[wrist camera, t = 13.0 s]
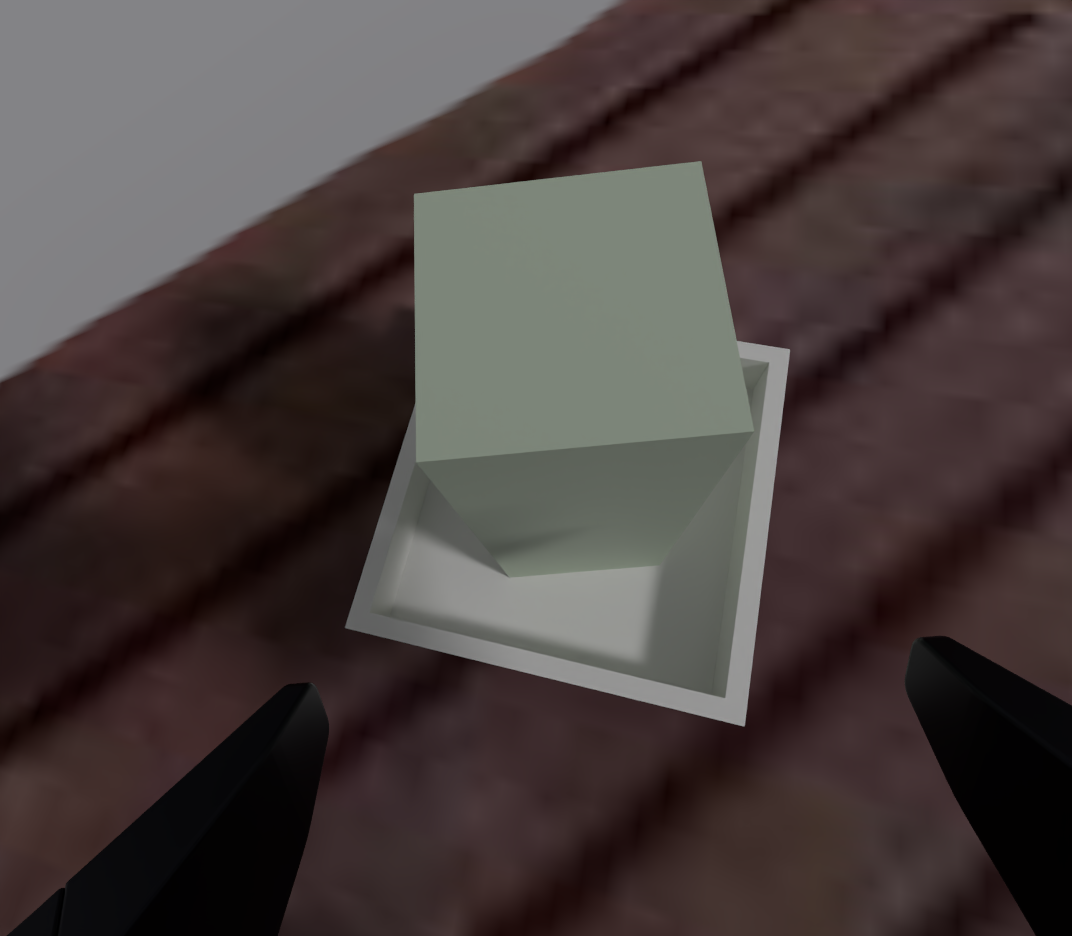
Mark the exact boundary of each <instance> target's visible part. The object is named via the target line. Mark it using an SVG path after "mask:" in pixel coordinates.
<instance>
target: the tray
mask: <svg viewBox="0 0 1072 936" xmlns="http://www.w3.org/2000/svg"><path fill="white" fill-rule="evenodd" d="M737 345H738V351H739V356H740V361H741V366H742V371H743V376H744V381H745V386H746V391H747V396H748V401H749V406H750V411H751V416H752V421H753V426H754V433H753V434H752V436H751V437H750V438H749V440H748V441H747V443H746V444H745V445H744V447H743V448H742V450H741V451H740V452H739V454H738V455H737V457H736V458H735V460H734V461H733V462H732V464H731V465H730V467H729V468H728V469H727V471H726V472H725V474H724V475H723V477H722V478H721V479H720V481H719V482H718V484H717V485H716V486H715V488H714V489H713V491H712V492H711V493H710V495H709V496H708V498H707V499H706V501H705V502H704V503H703V505H702V506H701V508H700V509H699V510H698V512H697V513H696V515H695V516H694V518H693V519H692V520H691V522H690V523H689V525H688V526H687V527H686V529H685V530H684V532H683V533H682V534H681V536H680V537H679V539H678V540H677V542H676V543H675V544H674V546H673V547H672V549H671V550H670V551H669V553H668V554H667V556H666V557H665V559H664V560H663V561H662V563H661V564H660V565H658V566H646V567H634V568H622V569H609V570H597V571H585V572H573V573H560V574H548V575H536V576H524V577H511V578H510V577H509V576H508V575H507V574H506V572H505V571H504V570H503V569H502V568H501V566H500V565H499V564H498V563H497V561H496V560H495V559H494V558H493V556H492V555H491V554H490V553H489V552H488V550H487V549H486V548H485V547H484V545H483V544H482V543H481V542H480V540H479V539H478V538H477V537H476V536H475V534H474V533H473V532H472V531H471V529H470V528H469V527H468V526H467V524H466V523H465V522H464V521H463V520H462V518H461V517H460V516H459V515H458V513H457V512H456V511H455V510H454V508H453V507H452V506H451V505H450V504H449V502H448V501H447V500H446V499H445V497H444V496H443V495H442V494H441V492H440V491H439V490H438V489H437V488H436V486H435V485H434V484H433V483H432V481H431V480H430V479H429V478H428V476H427V475H426V474H425V473H424V472H423V470H422V469H421V468H420V467H419V465H418V464H417V463H416V403H415V406H414V409H413V413H412V416H411V419H410V422H409V425H408V428H407V432H406V435H405V438H404V441H403V444H402V448H401V451H400V454H399V457H398V460H397V463H396V467H395V470H394V473H393V476H392V479H391V483H390V486H389V489H388V492H387V495H386V498H385V502H384V505H383V508H382V511H381V514H380V518H379V521H378V524H377V527H376V530H375V533H374V537H373V540H372V543H371V546H370V549H369V553H368V556H367V559H366V562H365V565H364V568H363V572H362V575H361V578H360V581H359V584H358V588H357V591H356V594H355V597H354V600H353V603H352V607H351V610H350V613H349V616H348V619H347V623H346V626H345V628H347V629H351V630H355V631H359V632H363V633H367V634H371V635H375V636H379V637H384V638H388V639H392V640H396V641H400V642H404V643H408V644H412V645H416V646H420V647H424V648H428V649H432V650H436V651H440V652H444V653H448V654H452V655H457V656H461V657H465V658H469V659H473V660H477V661H481V662H485V663H489V664H493V665H497V666H501V667H505V668H509V669H513V670H517V671H521V672H525V673H530V674H534V675H538V676H542V677H546V678H550V679H554V680H558V681H562V682H566V683H570V684H574V685H578V686H582V687H586V688H590V689H594V690H599V691H603V692H607V693H611V694H615V695H619V696H623V697H627V698H631V699H635V700H639V701H643V702H647V703H651V704H655V705H659V706H663V707H667V708H672V709H676V710H680V711H684V712H688V713H692V714H696V715H700V716H704V717H708V718H712V719H716V720H720V721H724V722H728V723H732V724H736V725H740V726H745V719H746V711H747V702H748V694H749V686H750V677H751V669H752V661H753V653H754V644H755V636H756V628H757V619H758V611H759V603H760V595H761V586H762V578H763V570H764V561H765V553H766V545H767V537H768V528H769V520H770V512H771V503H772V495H773V487H774V479H775V470H776V462H777V454H778V445H779V437H780V429H781V420H782V412H783V404H784V396H785V387H786V379H787V371H788V362H789V354H790V349H784V348H777V347H771V346H765V345H758V344H752V343H746V342H740V341H737Z"/></svg>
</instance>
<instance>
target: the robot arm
mask: <svg viewBox="0 0 1072 936" xmlns="http://www.w3.org/2000/svg"><path fill="white" fill-rule="evenodd" d="M905 688H906V692H907V695H908V697H909V700H910V702H911V704H912V706H913V708H914V711H915V713H916V715H917V717H918V719H919V721H920V724H921V726H922V728H923V730H924V732H925V734H926V737H927V739H928V741H929V743H930V745H931V747H932V750H933V752H934V754H935V756H936V758H937V760H938V763H939V765H940V767H941V769H942V771H943V773H944V776H945V778H946V780H947V782H948V784H949V786H950V788H951V790H952V792H953V794H954V796H955V798H956V800H957V802H958V803H959V805H960V807H961V809H962V811H963V812H964V814H965V816H966V818H967V819H968V821H969V823H970V824H971V826H972V828H973V829H974V831H975V833H976V835H977V836H978V838H979V840H980V841H981V843H982V845H983V847H984V848H985V850H986V852H987V853H988V855H989V857H990V858H991V860H992V862H993V864H994V865H995V867H996V869H997V870H998V872H999V874H1000V875H1001V877H1002V879H1003V881H1004V882H1005V884H1006V886H1007V887H1008V889H1009V891H1010V893H1011V894H1012V896H1013V898H1014V899H1015V901H1016V903H1017V904H1018V906H1019V908H1020V910H1021V911H1022V913H1023V915H1024V916H1025V918H1026V920H1027V921H1028V923H1029V925H1030V927H1031V928H1032V930H1033V932H1034V933H1035V935H1036V936H1072V705H1070V704H1068V703H1066V702H1064V701H1063V700H1061V699H1059V698H1057V697H1055V696H1054V695H1052V694H1050V693H1048V692H1046V691H1045V690H1043V689H1041V688H1039V687H1037V686H1036V685H1034V684H1032V683H1030V682H1028V681H1027V680H1025V679H1023V678H1021V677H1020V676H1018V675H1016V674H1014V673H1012V672H1011V671H1009V670H1007V669H1005V668H1003V667H1002V666H1000V665H998V664H996V663H994V662H993V661H991V660H989V659H987V658H985V657H984V656H982V655H980V654H978V653H976V652H975V651H973V650H971V649H969V648H967V647H966V646H964V645H962V644H960V643H959V642H957V641H955V640H953V639H951V638H949V637H946V636H932V637H920V638H917V639H916V640H915V641H914V642H913V644H912V647H911V652H910V656H909V661H908V666H907V670H906V675H905ZM328 735H329V722H328V718H327V715H326V712H325V709H324V706H323V703H322V701H321V698H320V695H319V692H318V689H317V687H316V686H315V685H314V684H313V683H296V684H288V685H286V686H284V687H283V688H282V689H281V690H279V691H278V692H277V693H276V694H275V695H274V696H273V697H272V698H271V699H269V700H268V701H267V702H266V703H265V704H264V705H263V706H262V707H261V708H259V709H258V710H257V711H256V712H255V713H254V714H253V715H252V716H251V717H249V718H248V719H247V720H246V721H245V722H244V723H243V724H242V725H241V726H240V727H238V728H237V729H236V730H235V731H234V732H233V733H232V734H231V735H230V736H228V737H227V738H226V739H225V740H224V741H223V742H222V743H221V744H220V745H218V746H217V747H216V748H215V749H214V750H213V751H212V752H211V753H210V754H208V755H207V756H206V757H205V758H204V759H203V760H202V761H201V762H200V763H199V764H197V765H196V766H195V767H194V768H193V769H192V770H191V771H190V772H189V773H187V774H186V775H185V776H184V777H183V778H182V779H181V780H180V781H179V782H177V783H176V784H175V785H174V786H173V787H172V788H171V789H170V790H169V791H168V792H166V793H165V794H164V795H163V796H162V797H161V798H160V799H159V800H158V801H156V802H155V803H154V804H153V805H152V806H151V807H150V808H149V809H148V810H146V811H145V812H144V813H143V814H142V815H141V816H140V817H139V818H138V819H136V820H135V821H134V822H133V823H132V824H131V825H130V826H129V827H128V828H127V829H125V830H124V831H123V832H122V833H121V834H120V835H119V836H118V837H117V838H115V839H114V840H113V841H112V842H111V843H110V844H109V845H108V846H107V847H105V848H104V849H103V850H102V851H101V852H100V853H99V854H98V855H97V856H96V857H94V858H93V859H92V860H91V861H90V862H89V863H88V864H87V865H86V866H84V867H83V868H82V869H81V870H80V871H79V872H78V873H77V874H76V875H74V876H73V877H72V878H71V879H70V880H69V881H68V882H67V883H66V886H65V888H60V889H59V890H58V891H56V892H55V893H54V894H53V895H52V896H51V897H50V898H49V899H48V900H46V901H45V902H44V903H43V904H42V905H41V906H40V907H39V908H38V909H37V910H35V911H34V912H33V913H32V914H31V915H30V916H29V917H28V918H26V919H25V920H24V921H23V922H22V923H21V924H20V925H18V926H17V927H16V928H15V929H14V930H13V931H12V932H10V933H9V934H8V935H7V936H278V933H279V930H280V926H281V923H282V920H283V917H284V913H285V910H286V907H287V904H288V900H289V897H290V894H291V891H292V888H293V884H294V881H295V878H296V875H297V871H298V868H299V865H300V862H301V858H302V855H303V852H304V848H305V845H306V841H307V838H308V833H309V829H310V825H311V820H312V815H313V810H314V805H315V800H316V795H317V790H318V786H319V781H320V776H321V771H322V766H323V761H324V756H325V751H326V746H327V741H328Z"/></svg>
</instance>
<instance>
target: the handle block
mask: <svg viewBox="0 0 1072 936" xmlns="http://www.w3.org/2000/svg"><path fill="white" fill-rule="evenodd" d="M414 255H415V390H416V463H417V464H418V465H419V467H420V468H421V469H422V470H423V472H424V473H425V474H426V475H427V476H428V478H429V479H430V480H431V481H432V483H433V484H434V485H435V486H436V488H437V489H438V490H439V491H440V492H441V494H442V495H443V496H444V497H445V499H446V500H447V501H448V502H449V504H450V505H451V506H452V507H453V508H454V510H455V511H456V512H457V513H458V515H459V516H460V517H461V518H462V520H463V521H464V522H465V523H466V524H467V526H468V527H469V528H470V529H471V531H472V532H473V533H474V534H475V536H476V537H477V538H478V539H479V540H480V542H481V543H482V544H483V545H484V547H485V548H486V549H487V550H488V552H489V553H490V554H491V555H492V556H493V558H494V559H495V560H496V561H497V563H498V564H499V565H500V566H501V568H502V569H503V570H504V571H505V572H506V574H507V575H508V576H509V577H510V578H511V577H524V576H536V575H548V574H560V573H573V572H585V571H597V570H609V569H622V568H634V567H646V566H658V565H660V564H661V563H662V561H663V560H664V559H665V557H666V556H667V554H668V553H669V551H670V550H671V549H672V547H673V546H674V544H675V543H676V542H677V540H678V539H679V537H680V536H681V534H682V533H683V532H684V530H685V529H686V527H687V526H688V525H689V523H690V522H691V520H692V519H693V518H694V516H695V515H696V513H697V512H698V510H699V509H700V508H701V506H702V505H703V503H704V502H705V501H706V499H707V498H708V496H709V495H710V493H711V492H712V491H713V489H714V488H715V486H716V485H717V484H718V482H719V481H720V479H721V478H722V477H723V475H724V474H725V472H726V471H727V469H728V468H729V467H730V465H731V464H732V462H733V461H734V460H735V458H736V457H737V455H738V454H739V452H740V451H741V450H742V448H743V447H744V445H745V444H746V443H747V441H748V440H749V438H750V437H751V436H752V434H753V433H754V426H753V421H752V416H751V411H750V406H749V401H748V396H747V391H746V386H745V381H744V376H743V371H742V366H741V361H740V356H739V351H738V345H737V340H736V335H735V330H734V325H733V320H732V315H731V310H730V305H729V300H728V295H727V290H726V285H725V280H724V275H723V270H722V264H721V259H720V254H719V249H718V244H717V239H716V234H715V229H714V224H713V219H712V214H711V209H710V204H709V199H708V194H707V189H706V183H705V178H704V173H703V168H702V163H701V161H699V162H690V163H682V164H673V165H664V166H655V167H646V168H638V169H629V170H620V171H611V172H603V173H594V174H585V175H576V176H568V177H559V178H550V179H541V180H533V181H524V182H515V183H506V184H498V185H489V186H480V187H471V188H463V189H454V190H445V191H436V192H428V193H419V194H414Z"/></svg>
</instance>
